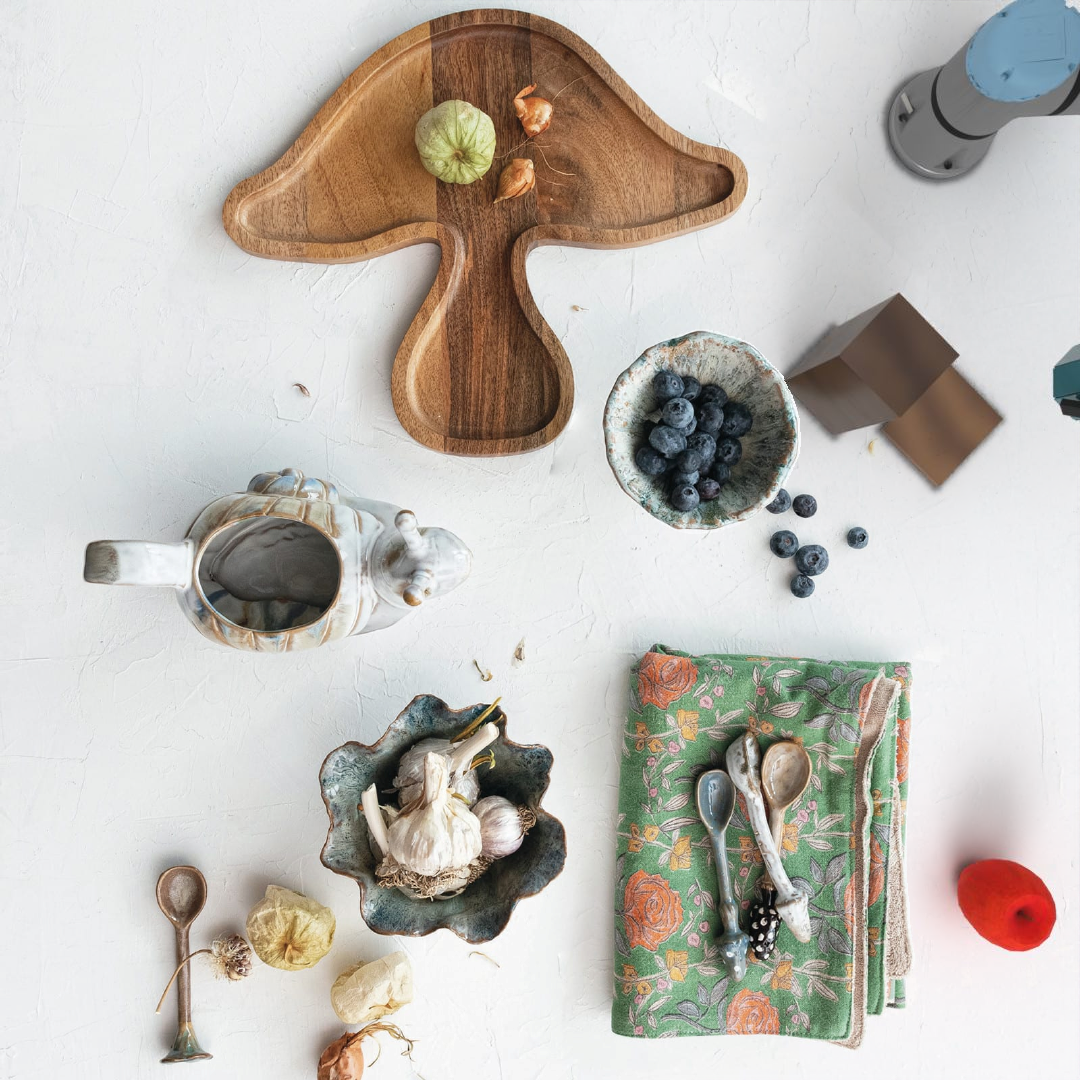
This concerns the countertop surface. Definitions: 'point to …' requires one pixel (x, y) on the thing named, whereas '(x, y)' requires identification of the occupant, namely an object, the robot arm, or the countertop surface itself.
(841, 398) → the block
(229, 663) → the countertop surface
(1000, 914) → the apple
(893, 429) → the mat
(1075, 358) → the cup
